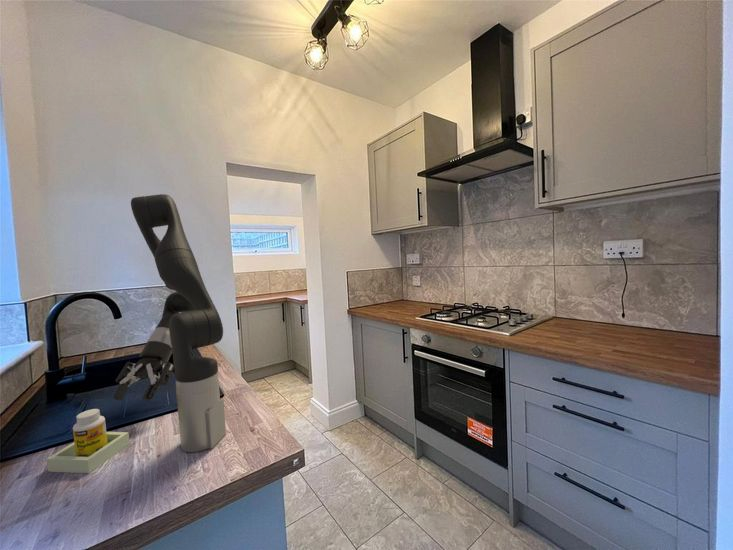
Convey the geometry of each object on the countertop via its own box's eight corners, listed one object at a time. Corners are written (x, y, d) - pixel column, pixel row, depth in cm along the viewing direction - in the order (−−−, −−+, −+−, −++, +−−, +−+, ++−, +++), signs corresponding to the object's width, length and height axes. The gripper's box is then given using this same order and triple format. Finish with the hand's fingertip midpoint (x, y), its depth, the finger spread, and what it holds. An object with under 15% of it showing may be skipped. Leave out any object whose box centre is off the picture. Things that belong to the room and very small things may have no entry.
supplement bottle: (72, 466, 67) (67, 422, 66) (81, 451, 71) (76, 411, 70) (105, 456, 69) (100, 415, 68) (111, 443, 74) (106, 404, 73)
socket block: (129, 443, 75) (128, 432, 74) (89, 473, 65) (87, 460, 64) (93, 442, 75) (92, 431, 75) (48, 471, 66) (46, 458, 65)
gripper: (131, 339, 89) (97, 394, 79) (175, 339, 88) (147, 395, 78) (147, 351, 95) (117, 403, 85) (188, 351, 94) (164, 404, 83)
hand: (131, 399), depth 81 cm, fingers open, 8 cm apart
